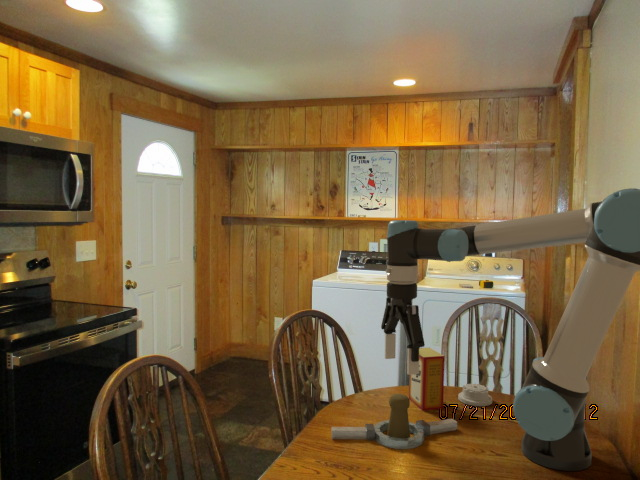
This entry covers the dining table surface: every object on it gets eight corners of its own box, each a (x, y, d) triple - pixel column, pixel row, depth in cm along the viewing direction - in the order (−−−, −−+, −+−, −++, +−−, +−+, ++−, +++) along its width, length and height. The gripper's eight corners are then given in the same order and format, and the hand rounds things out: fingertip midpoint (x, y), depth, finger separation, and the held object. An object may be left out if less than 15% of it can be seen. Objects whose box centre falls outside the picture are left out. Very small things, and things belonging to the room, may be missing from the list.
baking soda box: (408, 398, 157) (410, 347, 156) (428, 397, 159) (429, 346, 158) (422, 410, 148) (424, 356, 147) (443, 408, 150) (444, 354, 149)
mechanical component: (458, 405, 153) (493, 408, 151) (459, 390, 153) (494, 394, 150) (457, 394, 163) (490, 397, 160) (458, 380, 162) (491, 383, 160)
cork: (408, 444, 126) (409, 401, 126) (384, 440, 129) (385, 397, 128) (412, 434, 132) (413, 393, 131) (389, 431, 134) (390, 390, 134)
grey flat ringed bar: (454, 426, 137) (455, 416, 137) (469, 449, 124) (470, 438, 124) (330, 425, 137) (330, 415, 137) (332, 448, 124) (332, 437, 124)
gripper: (369, 276, 139) (369, 353, 140) (410, 289, 115) (409, 382, 116) (395, 275, 141) (394, 351, 142) (440, 288, 117) (438, 380, 118)
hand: (400, 365), depth 129 cm, fingers open, 13 cm apart
